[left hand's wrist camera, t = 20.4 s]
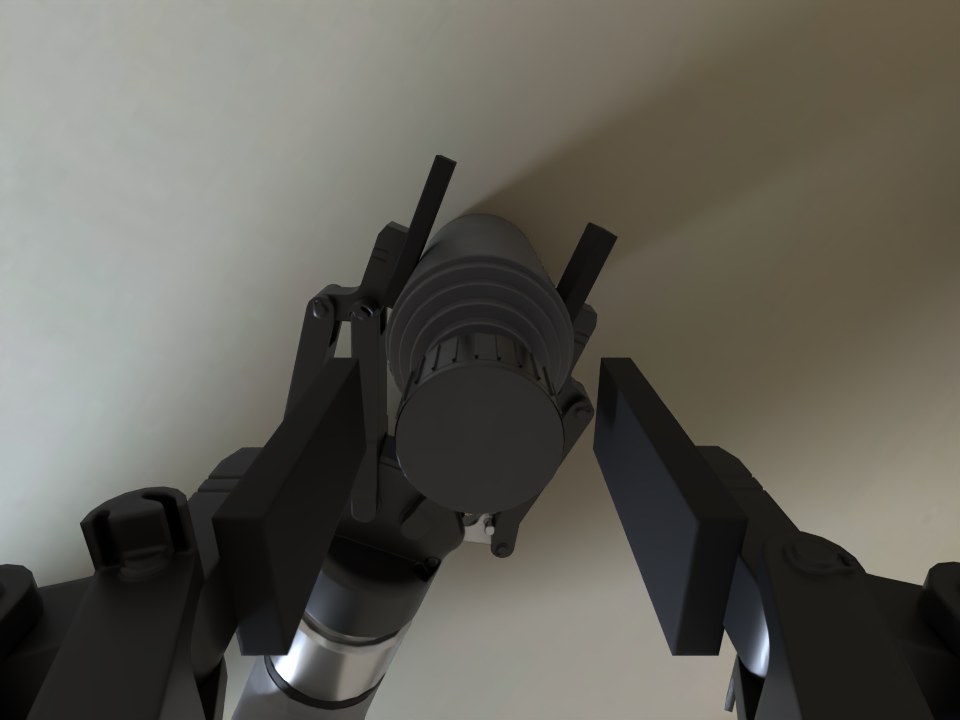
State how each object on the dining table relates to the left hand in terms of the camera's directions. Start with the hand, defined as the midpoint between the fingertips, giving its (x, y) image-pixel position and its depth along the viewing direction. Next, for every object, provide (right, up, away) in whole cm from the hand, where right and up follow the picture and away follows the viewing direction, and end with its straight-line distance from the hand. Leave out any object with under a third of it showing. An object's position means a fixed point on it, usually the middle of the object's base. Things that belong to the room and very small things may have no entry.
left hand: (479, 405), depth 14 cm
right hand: (+2, +8, +8) cm, 12 cm away
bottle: (0, +6, +16) cm, 17 cm away
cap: (0, -1, -2) cm, 2 cm away
